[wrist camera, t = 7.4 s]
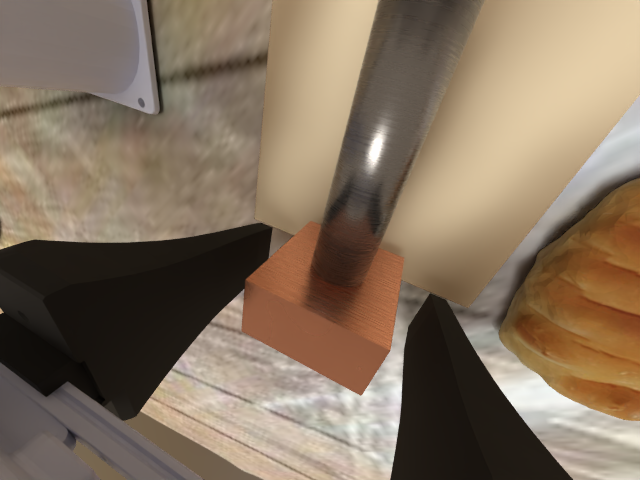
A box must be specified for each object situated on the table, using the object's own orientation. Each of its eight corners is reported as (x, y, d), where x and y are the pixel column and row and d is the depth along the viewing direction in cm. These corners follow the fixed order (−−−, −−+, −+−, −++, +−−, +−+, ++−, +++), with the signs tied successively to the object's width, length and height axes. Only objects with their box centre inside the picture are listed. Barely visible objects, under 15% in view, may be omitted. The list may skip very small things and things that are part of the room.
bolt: (301, 261, 12) (241, 331, 8) (364, -14, 7) (279, -192, 3) (384, 297, 11) (361, 395, 7) (530, 12, 6) (737, -192, 2)
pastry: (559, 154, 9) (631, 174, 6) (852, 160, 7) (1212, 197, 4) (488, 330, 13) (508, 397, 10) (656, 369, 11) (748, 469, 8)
